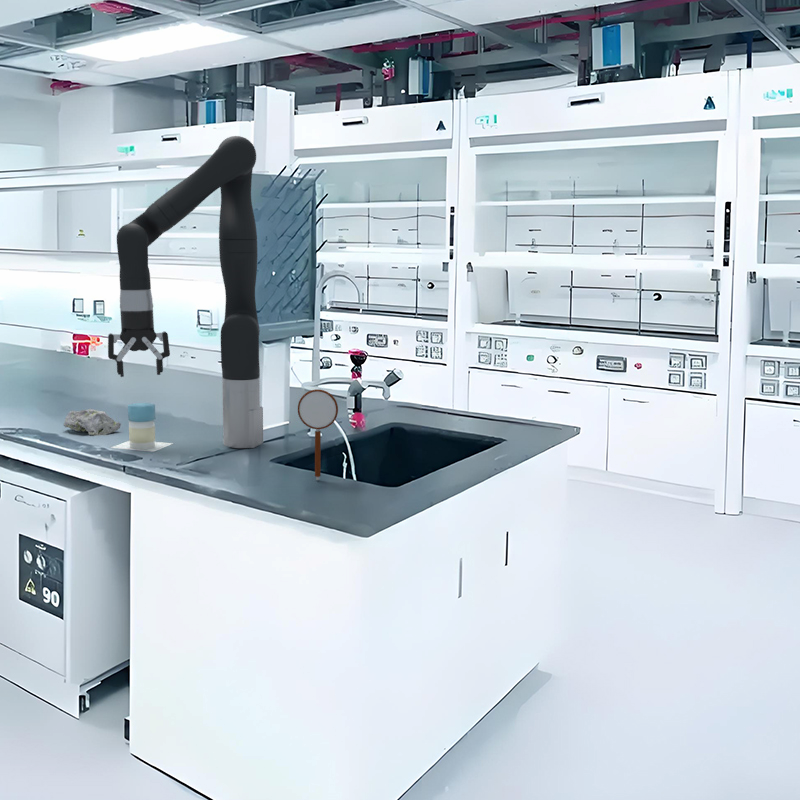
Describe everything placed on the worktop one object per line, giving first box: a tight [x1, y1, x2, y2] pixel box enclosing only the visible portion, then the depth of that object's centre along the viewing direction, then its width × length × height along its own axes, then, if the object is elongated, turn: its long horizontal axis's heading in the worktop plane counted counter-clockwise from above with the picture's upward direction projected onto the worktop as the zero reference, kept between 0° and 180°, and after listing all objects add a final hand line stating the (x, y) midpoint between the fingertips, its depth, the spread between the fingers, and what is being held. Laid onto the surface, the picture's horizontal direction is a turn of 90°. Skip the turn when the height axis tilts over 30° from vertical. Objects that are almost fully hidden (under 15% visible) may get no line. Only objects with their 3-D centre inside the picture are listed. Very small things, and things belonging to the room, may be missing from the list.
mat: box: [110, 440, 174, 453], centre depth 214 cm, size 12×9×1 cm
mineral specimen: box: [63, 408, 122, 436], centre depth 228 cm, size 16×7×7 cm, turn 72°
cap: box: [127, 402, 156, 422], centre depth 211 cm, size 6×6×4 cm
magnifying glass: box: [297, 389, 339, 482], centre depth 184 cm, size 9×2×20 cm, turn 89°
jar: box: [128, 420, 156, 451], centre depth 211 cm, size 6×6×7 cm
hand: (140, 375), depth 209 cm, fingers open, 8 cm apart
